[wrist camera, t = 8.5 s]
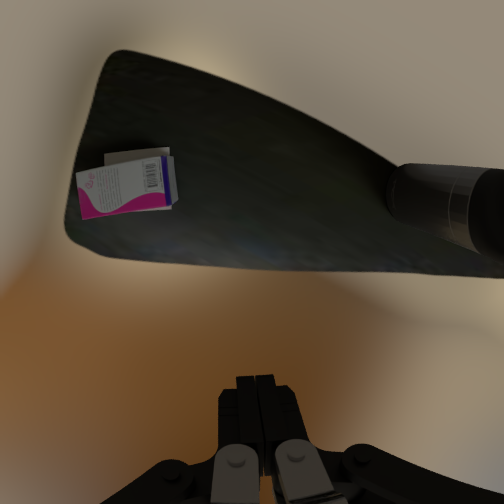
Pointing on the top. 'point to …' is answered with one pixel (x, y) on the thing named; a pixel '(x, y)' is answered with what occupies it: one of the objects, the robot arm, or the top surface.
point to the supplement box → (127, 187)
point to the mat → (134, 155)
